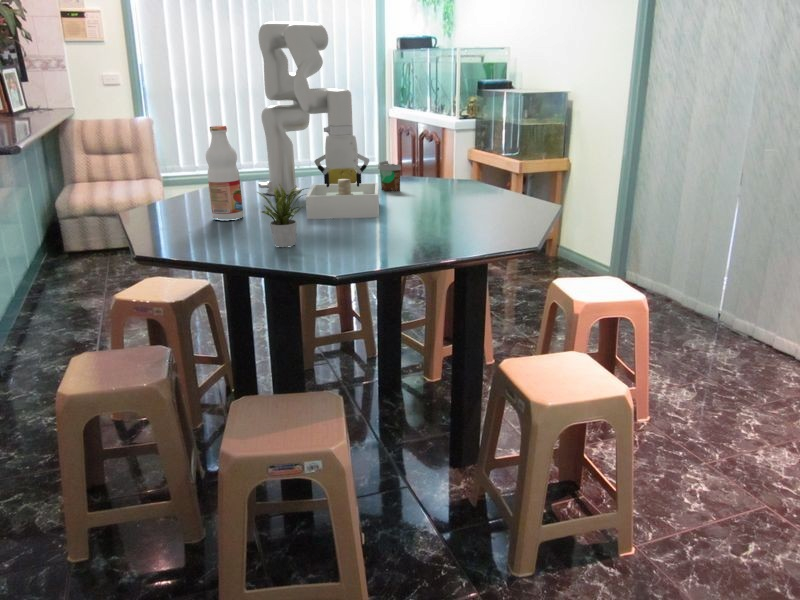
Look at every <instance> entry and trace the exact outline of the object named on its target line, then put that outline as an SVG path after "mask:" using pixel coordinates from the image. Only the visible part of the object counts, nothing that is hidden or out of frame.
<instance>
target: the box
mask: <svg viewBox="0 0 800 600" xmlns="http://www.w3.org/2000/svg"><path fill="white" fill-rule="evenodd" d="M379 188H380V187H379V182H361V184H359V187H358V186H357V182H356V183H352V184H351V195H339V193H338V184H330V185H329V187H327V185H326V184H324V183H319V184H316V183H315V184H312V186H311V187H309V190H308V191H307V193H306V194H307V195H305V205H306V206H305V208H306V209H305V211H306V220H329V219H330V218H331V219H333V218H334V219H361V218H364V219H365V218H379V217H380V189H379Z"/></svg>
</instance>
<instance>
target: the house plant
mask: <svg viewBox="0 0 800 600" xmlns="http://www.w3.org/2000/svg"><path fill="white" fill-rule="evenodd" d="M279 185H280V184H279ZM276 187H277V186H276ZM297 187H298V186H296V187H295V188H293V189H292V190H291V192H290V194H289V195H286V192H285V191H284V190H283V188H282V186H281V185H280V189H281V194H280V191H279V189H278V187H277V188H274V192H275V195H274V197H275V198H274V199H275V201H274V202H275V204H276V205H275V206H274V205H273V204H272V202H271V201H270V200H269V198H268V197H266V196H265V195H264V194H262V193H260V192H258V191H256V193H257V194H259V195H260V196H261V197H263V198H264V200H266V202H267V203H268V204H269V206H270V207H271V208H272V209H271V208H270V207H269V206H267V205H263V207H264V208H265V210H266V211H265V210H264V211H263V210H262V211H261V213H262V214H264V215H267V216H269V217H270V218H271V219H272V220H271V221H270V222H269V228H270V231H271V234H272V238H273V243H274V246H275V245H276V246H279V247H288V246H293V245H295V246H296V240H297V238H296V237H297V228H298V227H297V226H298V220H295V219H293V218H294V217H295V215H296V214H297V213H298V212H299V211H300V210H301V209H304V210H306V209H305V208H306V204H305V205H302V206H301V207H300V206H296V207H294V205H295V204H296V202H297V201H298V200H299V199H300V198H301V197H303V196H306V195H307V193H306V194H301V195H299V196H298V194H300V193H301V192H302V191H304V190H308V189H309V187H307V188H302V189H301V190H300V191H298V192H297V193H295V194H294V192H295V189H296V188H297ZM277 189H278V190H277ZM297 196H298V197H297ZM296 197H297V198H296ZM295 198H296V200H295ZM294 200H295V201H294ZM293 202H294V203H293ZM292 203H293V204H292ZM291 204H292V206H291ZM296 209H298V210H296ZM292 213H293V214H292ZM293 247H294V246H293Z"/></svg>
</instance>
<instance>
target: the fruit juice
mask: <svg viewBox="0 0 800 600" xmlns="http://www.w3.org/2000/svg"><path fill="white" fill-rule="evenodd" d="M209 132H210V135H211V140H210V145H209V146H208V149H207V150H206V153H205V160H206V163H207V166H208V169H207V182H208V191H209V192H208V193H209V197H210V199H209V200H210V205H211V207H210V208H211V215H212V219H213V218H218V219H236V218H241V217H243V218H244V207H243V197H242V196H243V195H242V189H241V179H240V172H239V168H238V167H237V160H238V155H237V152H236V150H235V149H234V148H233V147H232V145H231V144H230V142H229V139H228V135H227V132H228V128H227V125H211V126H209Z"/></svg>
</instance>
